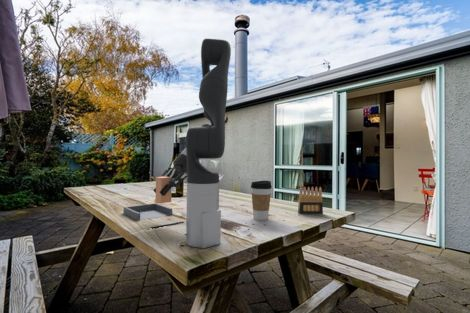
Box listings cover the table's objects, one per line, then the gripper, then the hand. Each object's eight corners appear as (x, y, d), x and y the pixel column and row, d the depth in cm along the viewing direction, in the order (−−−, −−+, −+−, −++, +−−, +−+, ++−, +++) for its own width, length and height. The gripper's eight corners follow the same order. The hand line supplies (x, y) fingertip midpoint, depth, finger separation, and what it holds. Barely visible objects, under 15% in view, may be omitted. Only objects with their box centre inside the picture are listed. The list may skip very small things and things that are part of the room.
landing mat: (183, 223, 92) (183, 221, 92) (152, 229, 84) (152, 227, 84) (171, 218, 98) (171, 217, 98) (141, 223, 90) (141, 222, 90)
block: (171, 201, 91) (171, 177, 91) (161, 203, 88) (161, 177, 88) (165, 200, 94) (165, 176, 94) (155, 201, 92) (155, 177, 92)
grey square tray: (172, 217, 100) (172, 208, 100) (137, 223, 91) (137, 213, 91) (156, 210, 111) (156, 203, 111) (123, 215, 102) (123, 207, 102)
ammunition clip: (299, 214, 109) (299, 186, 109) (297, 213, 111) (298, 186, 111) (322, 213, 110) (323, 186, 110) (321, 212, 112) (321, 186, 112)
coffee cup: (275, 220, 98) (275, 181, 98) (256, 221, 95) (256, 182, 95) (265, 215, 106) (265, 180, 106) (246, 216, 103) (247, 180, 103)
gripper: (172, 152, 101) (143, 184, 93) (191, 153, 91) (160, 188, 83) (184, 165, 105) (156, 197, 97) (203, 167, 94) (174, 202, 86)
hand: (158, 193), depth 90 cm, fingers closed on block, 4 cm apart
